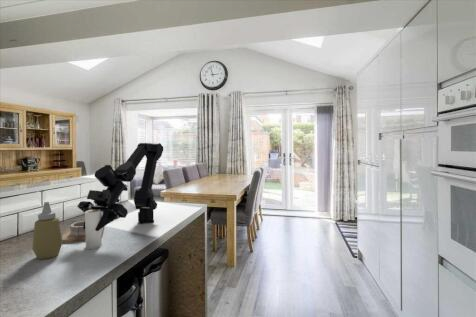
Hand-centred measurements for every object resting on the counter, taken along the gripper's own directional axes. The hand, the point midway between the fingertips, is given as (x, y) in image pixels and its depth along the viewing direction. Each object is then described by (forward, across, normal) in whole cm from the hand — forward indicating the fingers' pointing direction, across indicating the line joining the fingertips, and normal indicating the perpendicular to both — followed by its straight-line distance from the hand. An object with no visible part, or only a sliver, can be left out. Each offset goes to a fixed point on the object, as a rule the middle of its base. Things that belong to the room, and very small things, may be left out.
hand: (90, 229), depth 91 cm
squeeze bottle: (+11, -8, -2) cm, 14 cm away
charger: (-21, -23, +31) cm, 44 cm away
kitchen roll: (+4, 0, +6) cm, 7 cm away
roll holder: (-2, -13, +12) cm, 18 cm away
